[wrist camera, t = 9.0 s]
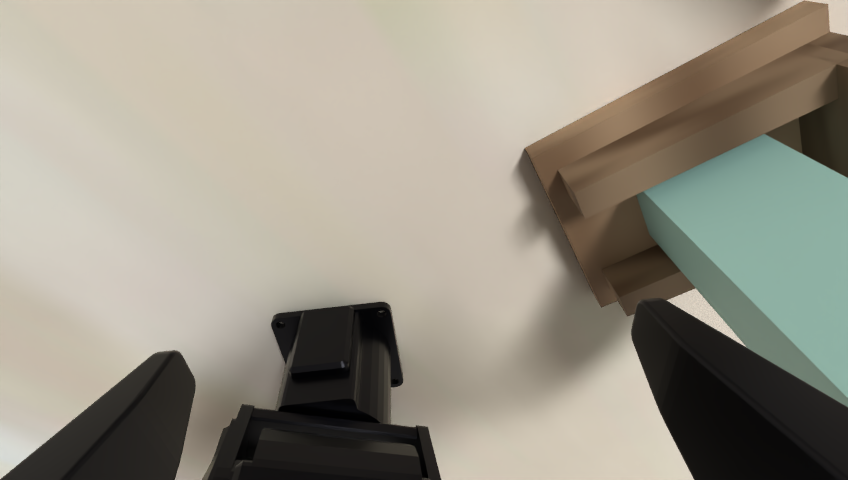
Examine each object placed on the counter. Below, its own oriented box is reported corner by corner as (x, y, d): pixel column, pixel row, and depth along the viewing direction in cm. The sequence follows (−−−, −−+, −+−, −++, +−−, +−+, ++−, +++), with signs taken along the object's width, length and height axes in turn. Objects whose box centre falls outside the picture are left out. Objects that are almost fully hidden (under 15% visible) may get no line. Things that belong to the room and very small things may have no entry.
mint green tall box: (649, 235, 23) (871, 490, 12) (630, 178, 21) (870, 420, 10) (773, 179, 21) (1141, 412, 11) (764, 114, 20) (1191, 317, 9)
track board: (593, 293, 26) (626, 351, 22) (525, 148, 21) (553, 192, 17) (820, 194, 23) (901, 242, 20) (804, 0, 18) (907, 16, 15)
